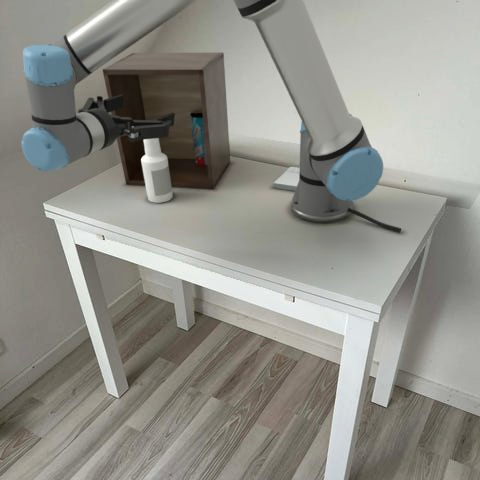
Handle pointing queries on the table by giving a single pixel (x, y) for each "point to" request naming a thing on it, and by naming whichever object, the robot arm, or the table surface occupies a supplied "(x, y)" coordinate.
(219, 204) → the table surface
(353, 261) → the table surface
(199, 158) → the beverage can
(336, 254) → the table surface
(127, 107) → the cupboard
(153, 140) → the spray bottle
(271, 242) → the table surface
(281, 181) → the hard drive
